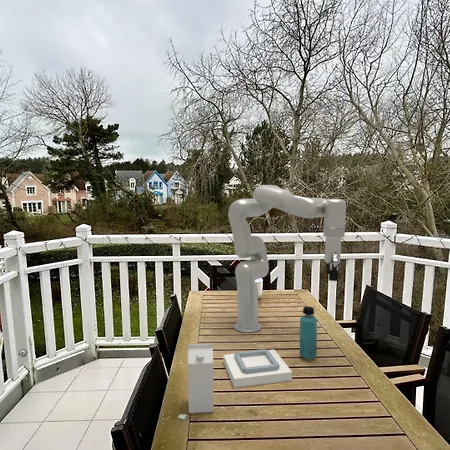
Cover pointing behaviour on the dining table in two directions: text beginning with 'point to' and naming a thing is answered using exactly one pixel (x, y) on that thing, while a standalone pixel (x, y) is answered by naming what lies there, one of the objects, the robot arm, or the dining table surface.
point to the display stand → (256, 368)
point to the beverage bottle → (308, 334)
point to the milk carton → (200, 378)
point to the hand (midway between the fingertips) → (332, 277)
